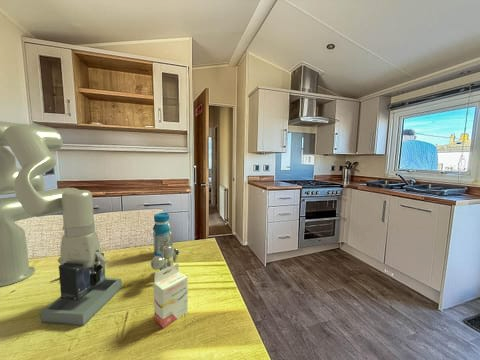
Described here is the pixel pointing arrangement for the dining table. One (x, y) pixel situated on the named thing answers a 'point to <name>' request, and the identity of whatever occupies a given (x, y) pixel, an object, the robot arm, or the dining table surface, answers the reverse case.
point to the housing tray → (80, 305)
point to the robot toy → (165, 256)
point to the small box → (77, 280)
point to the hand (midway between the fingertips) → (84, 282)
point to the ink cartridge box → (170, 295)
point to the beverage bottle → (161, 231)
